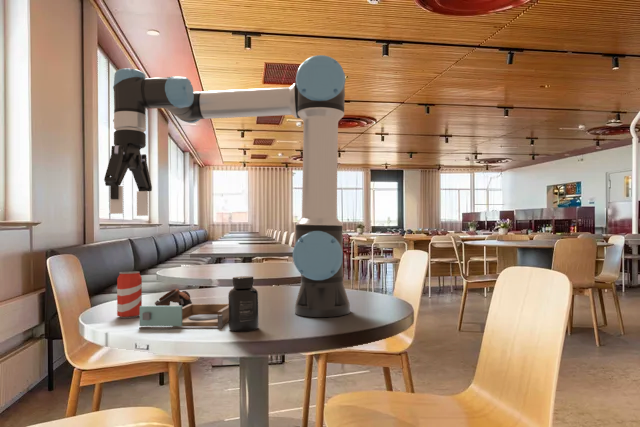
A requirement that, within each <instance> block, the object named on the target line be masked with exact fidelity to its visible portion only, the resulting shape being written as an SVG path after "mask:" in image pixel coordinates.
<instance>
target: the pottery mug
mask: <svg viewBox="0 0 640 427" xmlns="http://www.w3.org/2000/svg"><path fill="white" fill-rule="evenodd" d="M171 303H178V306H182V307H184V306H186V305H189V304H193V302H192V299H191V295H190V293H189V292H188V291H186V290H182V291H180V289H179V288H175V289H171V290H170V291H168V292H167V293H165V294H164V295H162V296H161V297H159V299H157V300H156V301H155V302H154V306H171Z"/></svg>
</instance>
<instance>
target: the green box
mask: <svg viewBox="0 0 640 427" xmlns="http://www.w3.org/2000/svg"><path fill="white" fill-rule="evenodd" d="M146 326H182V306H179V305H170V306H156V305H142V306H140V315H139V327H146Z"/></svg>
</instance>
